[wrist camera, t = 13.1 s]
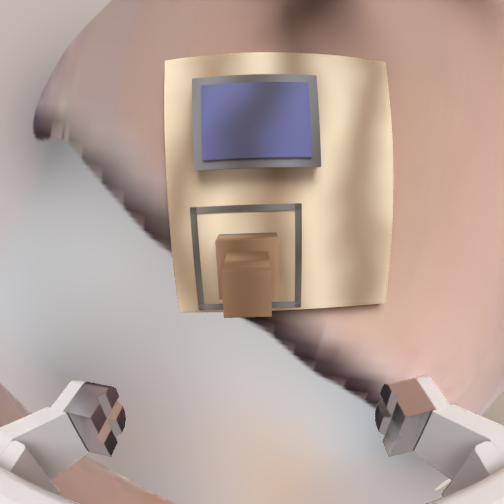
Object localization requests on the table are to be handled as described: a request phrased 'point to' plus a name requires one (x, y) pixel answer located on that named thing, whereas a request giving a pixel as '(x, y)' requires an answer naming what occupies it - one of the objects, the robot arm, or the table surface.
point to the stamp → (247, 273)
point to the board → (281, 172)
